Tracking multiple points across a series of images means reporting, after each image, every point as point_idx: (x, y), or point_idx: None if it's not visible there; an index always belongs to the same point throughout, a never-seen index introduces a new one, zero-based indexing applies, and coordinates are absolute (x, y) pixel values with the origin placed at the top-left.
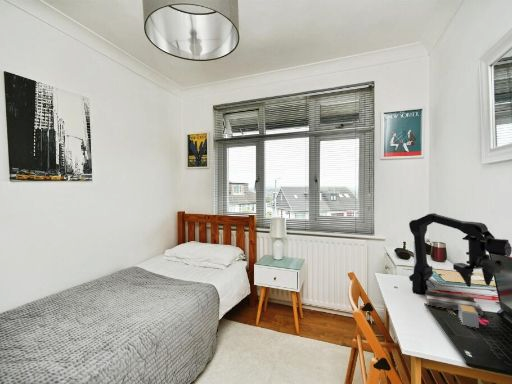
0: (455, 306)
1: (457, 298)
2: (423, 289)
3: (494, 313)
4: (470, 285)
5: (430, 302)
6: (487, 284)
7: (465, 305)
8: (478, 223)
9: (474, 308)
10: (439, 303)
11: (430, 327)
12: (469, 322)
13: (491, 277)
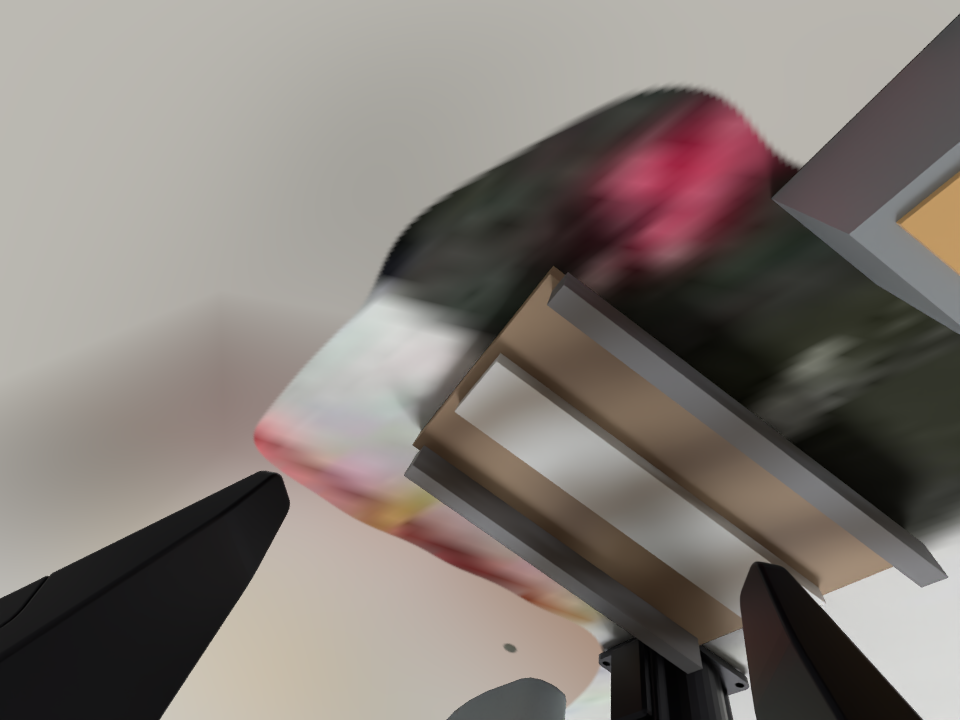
0: (749, 419)
1: (516, 512)
2: (682, 682)
3: (413, 274)
4: (780, 597)
5: (924, 551)
6: (275, 495)
7: (933, 298)
8: None
9: (927, 170)
10: (862, 508)
11: None
12: None
13: (23, 618)
